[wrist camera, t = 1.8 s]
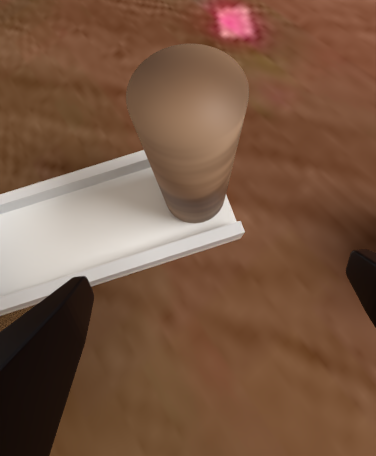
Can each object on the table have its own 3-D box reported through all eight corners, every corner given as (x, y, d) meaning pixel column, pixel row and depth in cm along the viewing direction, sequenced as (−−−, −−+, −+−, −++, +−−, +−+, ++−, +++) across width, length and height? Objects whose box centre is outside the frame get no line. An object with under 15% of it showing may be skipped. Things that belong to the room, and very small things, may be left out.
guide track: (205, 146, 25) (206, 102, 19) (240, 238, 22) (253, 219, 17) (-21, 216, 24) (-91, 193, 19) (-12, 319, 22) (-89, 329, 16)
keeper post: (212, 232, 22) (223, 163, 10) (155, 210, 22) (105, 123, 11) (233, 178, 23) (265, 61, 11) (178, 159, 24) (155, 32, 12)
